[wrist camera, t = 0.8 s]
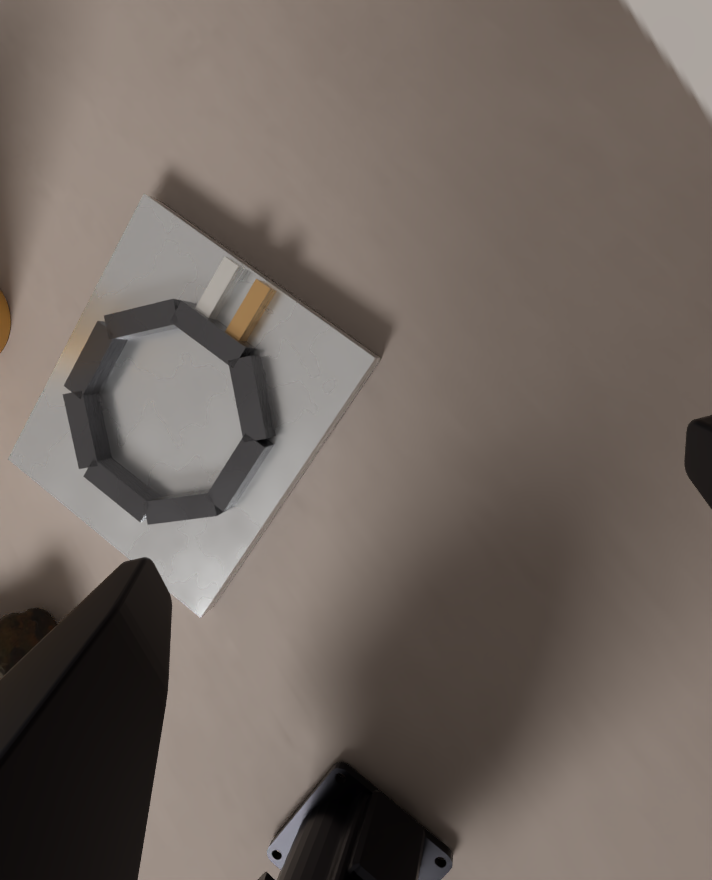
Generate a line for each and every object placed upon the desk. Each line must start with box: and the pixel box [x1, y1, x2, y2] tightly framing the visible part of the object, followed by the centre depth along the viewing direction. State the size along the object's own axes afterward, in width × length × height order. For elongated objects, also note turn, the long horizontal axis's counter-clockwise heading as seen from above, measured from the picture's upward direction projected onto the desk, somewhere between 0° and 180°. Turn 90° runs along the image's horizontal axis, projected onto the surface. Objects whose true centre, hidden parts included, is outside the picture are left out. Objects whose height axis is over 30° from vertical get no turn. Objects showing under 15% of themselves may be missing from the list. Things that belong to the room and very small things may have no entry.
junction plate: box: [8, 194, 381, 618], centre depth 25 cm, size 14×12×2 cm
